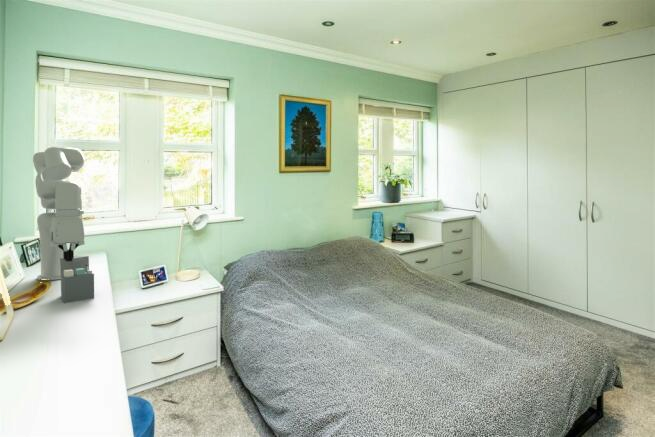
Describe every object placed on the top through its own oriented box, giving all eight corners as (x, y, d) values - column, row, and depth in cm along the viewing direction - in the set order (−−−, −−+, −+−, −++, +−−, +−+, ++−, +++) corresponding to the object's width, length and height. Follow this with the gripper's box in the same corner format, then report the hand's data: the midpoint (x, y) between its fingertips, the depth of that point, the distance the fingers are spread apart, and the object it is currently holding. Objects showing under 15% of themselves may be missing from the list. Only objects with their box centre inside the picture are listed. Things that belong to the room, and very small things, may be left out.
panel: (61, 300, 145) (61, 275, 144) (90, 295, 152) (90, 271, 151) (64, 303, 142) (64, 277, 141) (94, 298, 149) (94, 273, 148)
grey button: (86, 273, 148) (86, 270, 148) (90, 273, 149) (90, 269, 149) (87, 274, 147) (87, 270, 147) (91, 273, 148) (91, 270, 148)
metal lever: (86, 273, 150) (85, 264, 150) (88, 272, 150) (87, 264, 150) (86, 272, 149) (86, 264, 149) (89, 272, 150) (88, 263, 150)
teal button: (75, 276, 147) (75, 268, 146) (82, 275, 148) (82, 268, 148) (77, 278, 145) (77, 270, 145) (84, 277, 147) (84, 269, 147)
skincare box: (73, 297, 149) (73, 258, 148) (59, 295, 151) (58, 257, 149) (91, 291, 157) (90, 255, 156) (77, 290, 159) (76, 254, 158)
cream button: (63, 278, 144) (63, 270, 143) (71, 277, 146) (71, 269, 145) (65, 279, 142) (65, 271, 142) (73, 278, 144) (73, 270, 144)
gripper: (86, 212, 150) (87, 257, 151) (41, 213, 139) (42, 261, 140) (93, 213, 145) (93, 260, 146) (46, 214, 134) (47, 264, 135)
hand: (68, 260), depth 143 cm, fingers closed
